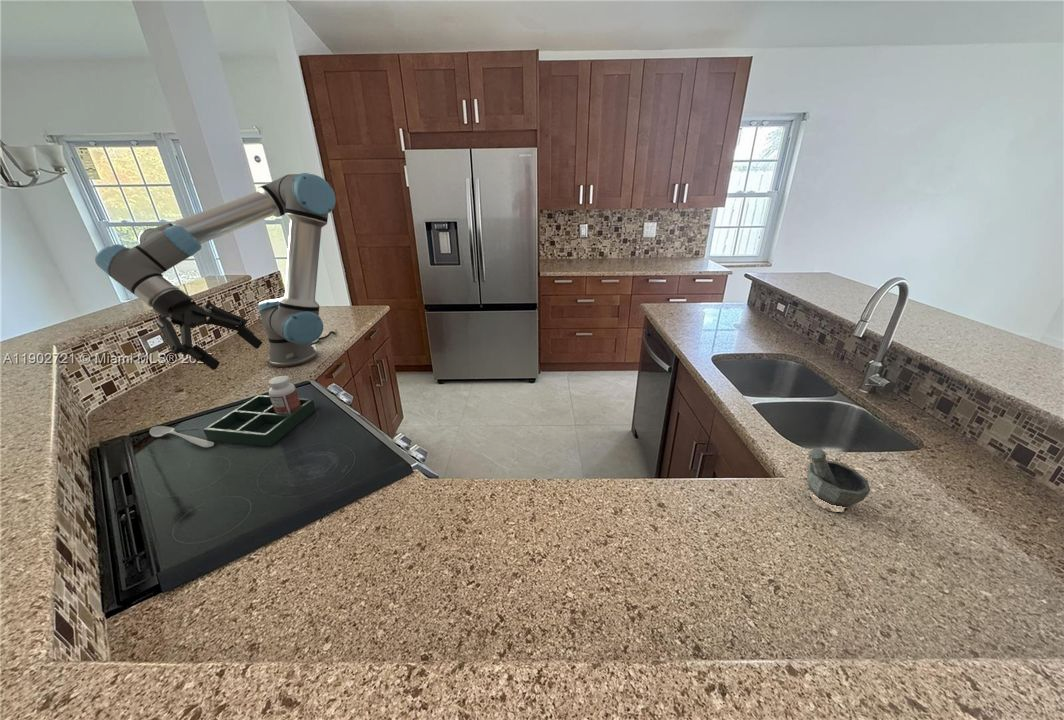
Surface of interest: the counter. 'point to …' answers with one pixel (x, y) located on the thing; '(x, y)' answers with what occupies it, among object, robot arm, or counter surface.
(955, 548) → the counter surface
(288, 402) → the pill bottle
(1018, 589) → the counter surface
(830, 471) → the mortar and pestle
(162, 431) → the spoon
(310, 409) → the grid
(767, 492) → the counter surface
